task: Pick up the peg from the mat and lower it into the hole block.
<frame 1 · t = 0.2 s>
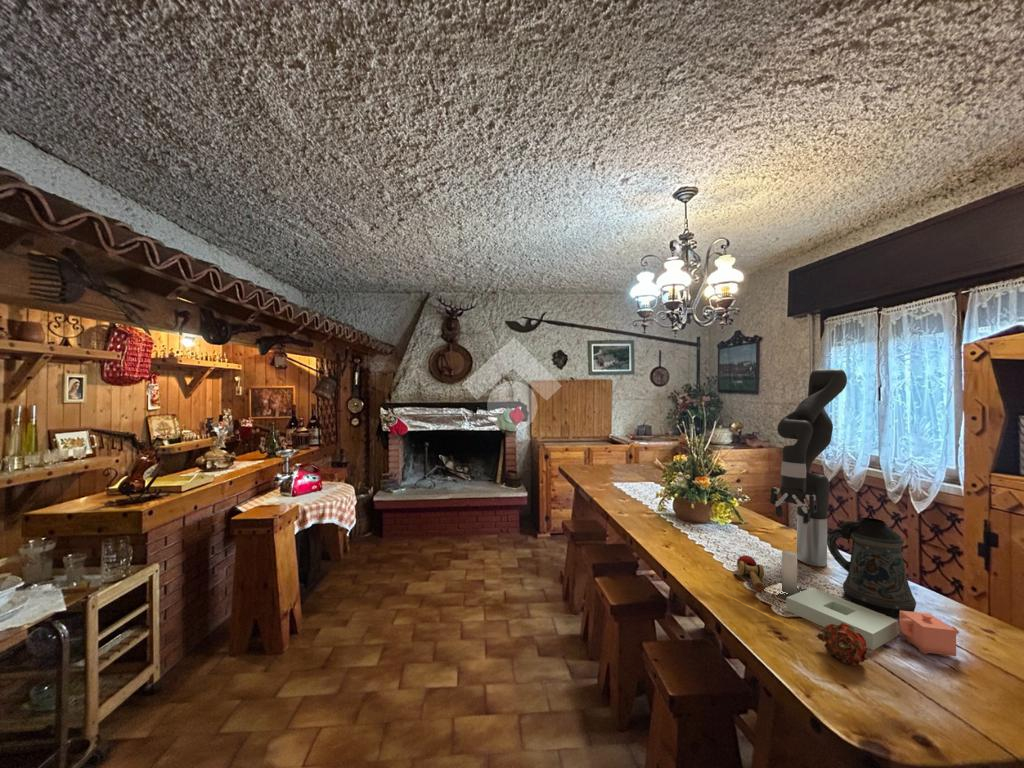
hand: (792, 520, 147), 18 cm above the table, tool pointing down, fingers open, 8 cm apart
pink cube teapot: (929, 649, 101), on the table
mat: (789, 592, 129), on the table
peg: (789, 591, 129), resting on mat
hole block: (839, 622, 112), on the table
dried red rose: (842, 658, 97), on the table
kendama: (752, 581, 137), on the table, touching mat
beer stein: (872, 604, 123), on the table
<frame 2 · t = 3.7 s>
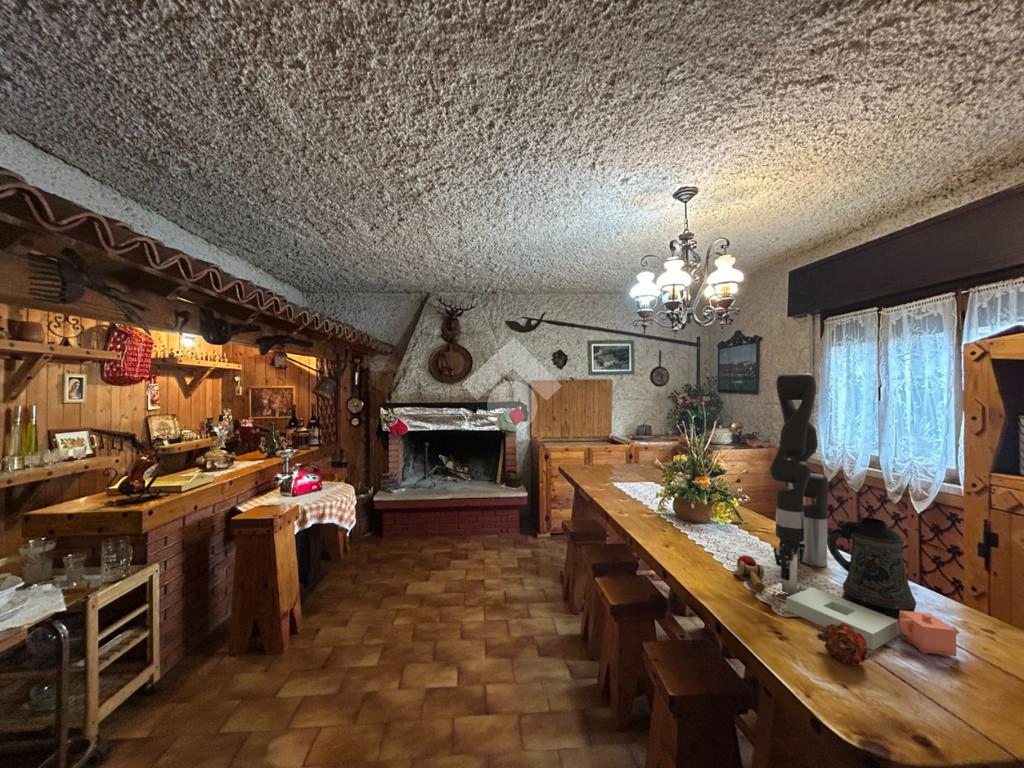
hand: (789, 577, 129), 5 cm above the table, tool pointing down, fingers closed on peg, 4 cm apart
peg: (789, 591, 129), resting on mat, touching gripper
everything else where it was.
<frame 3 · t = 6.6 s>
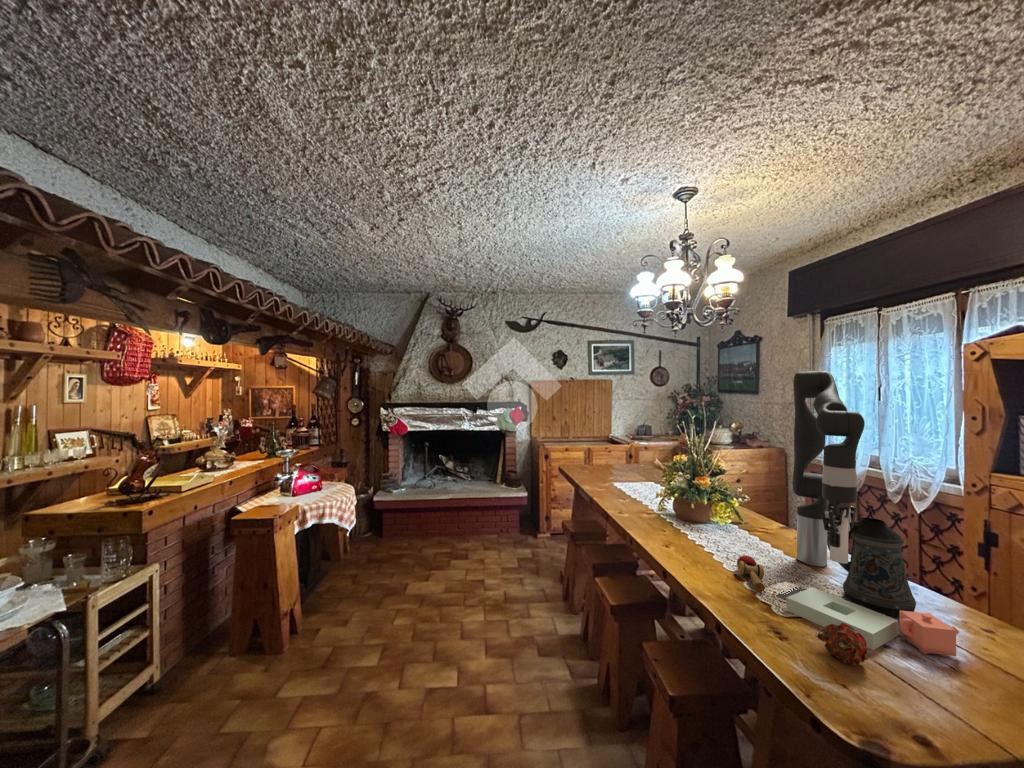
hand: (839, 545, 113), 21 cm above the table, tool pointing down, fingers closed on peg, 4 cm apart
peg: (838, 560, 113), point 17 cm above the table, touching gripper
everything else where it was.
when the fingers open (6 cm above the table, at t = 9.9 s): peg drops 1 cm, resting in hole block.
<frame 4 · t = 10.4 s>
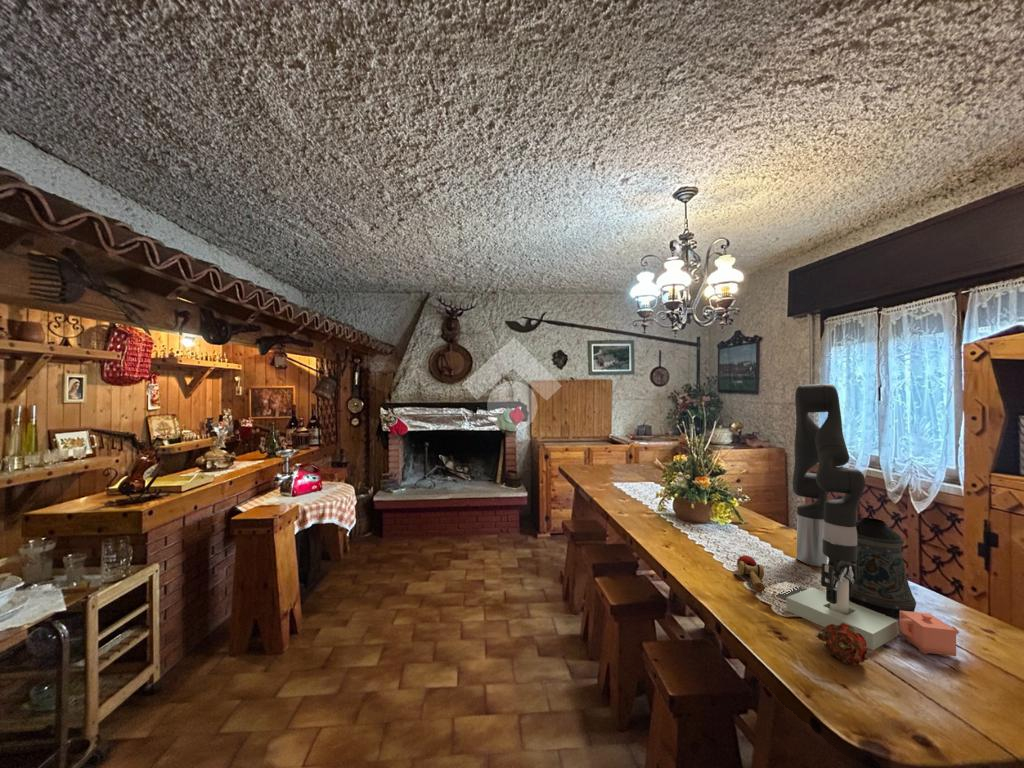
hand: (839, 599, 112), 6 cm above the table, tool pointing down, fingers open, 8 cm apart
peg: (839, 622, 112), resting in hole block
everything else where it was.
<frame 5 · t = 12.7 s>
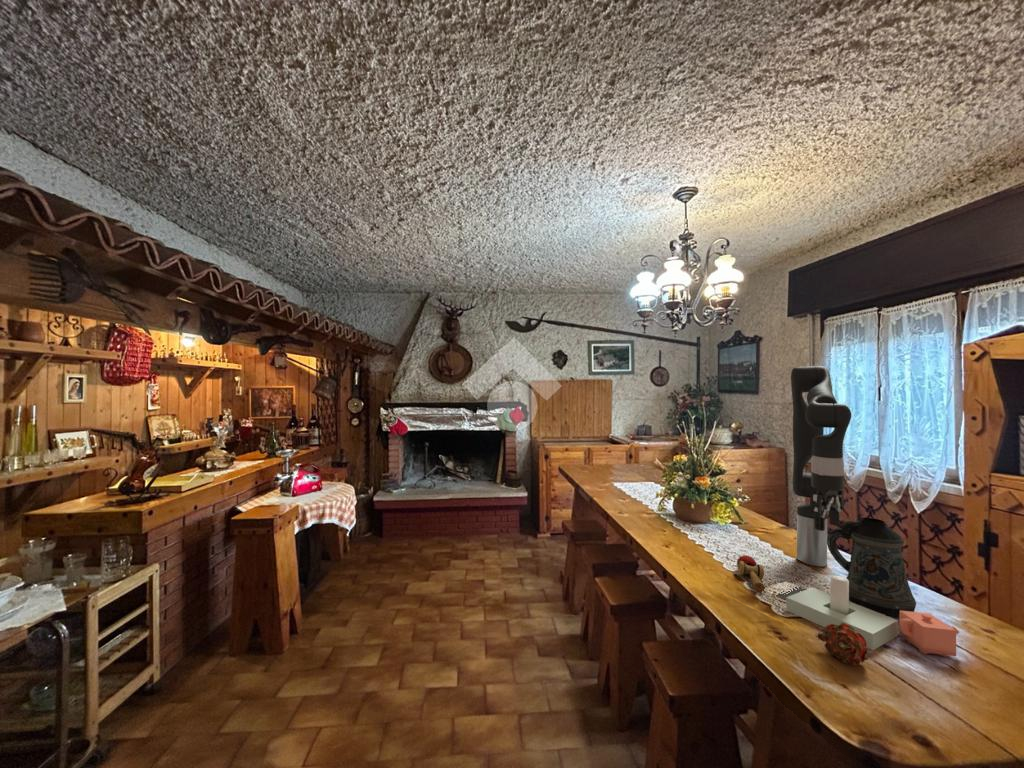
hand: (827, 527, 119), 24 cm above the table, tool pointing down, fingers open, 8 cm apart
nothing on the table moved.
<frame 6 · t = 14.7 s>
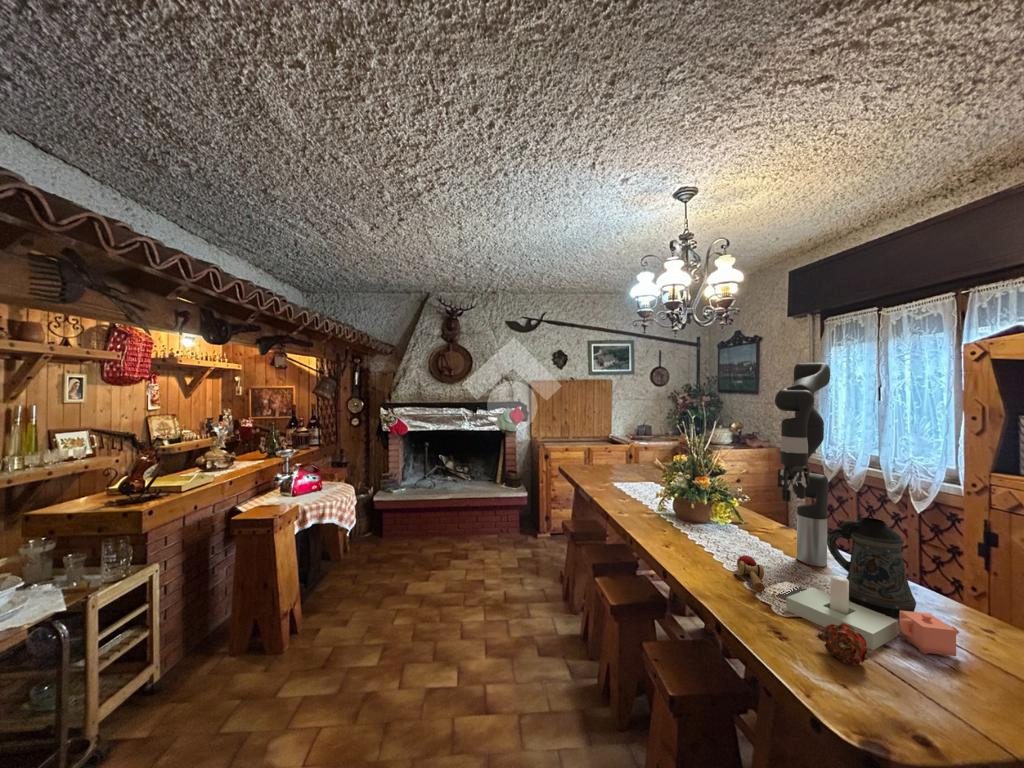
hand: (793, 499, 134), 28 cm above the table, tool pointing down, fingers open, 8 cm apart
nothing on the table moved.
at the end: peg 0.1 cm off-centre on the hole block, point 0.0 cm above the hole block's base; peg tilted 0°; the gripper is holding nothing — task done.
